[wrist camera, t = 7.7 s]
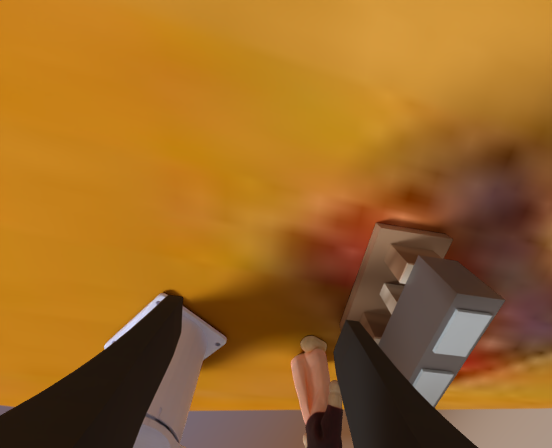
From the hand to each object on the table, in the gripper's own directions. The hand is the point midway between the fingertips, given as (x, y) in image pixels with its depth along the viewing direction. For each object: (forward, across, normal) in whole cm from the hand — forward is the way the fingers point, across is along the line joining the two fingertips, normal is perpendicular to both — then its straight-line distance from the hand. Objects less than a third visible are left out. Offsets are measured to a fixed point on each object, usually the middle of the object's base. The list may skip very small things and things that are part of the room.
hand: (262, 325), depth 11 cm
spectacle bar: (+6, -12, +3) cm, 14 cm away
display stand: (+10, -12, +4) cm, 16 cm away
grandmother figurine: (+10, -7, +14) cm, 18 cm away
